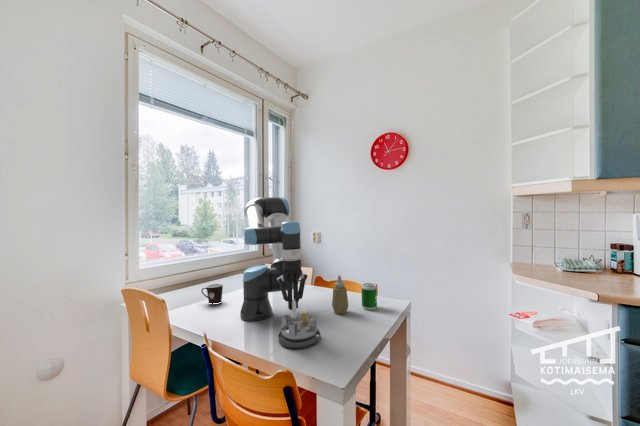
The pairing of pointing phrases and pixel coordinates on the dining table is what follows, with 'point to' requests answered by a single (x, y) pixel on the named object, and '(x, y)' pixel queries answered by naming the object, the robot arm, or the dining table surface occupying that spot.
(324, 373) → the dining table surface
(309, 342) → the mounting flange
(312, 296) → the dining table surface
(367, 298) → the soda can
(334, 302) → the squeeze bottle
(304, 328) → the four-lug metal disc
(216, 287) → the coffee mug
